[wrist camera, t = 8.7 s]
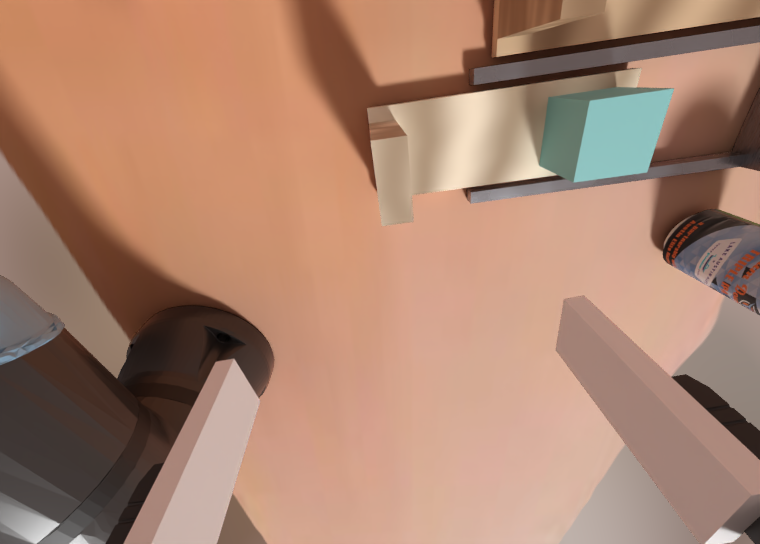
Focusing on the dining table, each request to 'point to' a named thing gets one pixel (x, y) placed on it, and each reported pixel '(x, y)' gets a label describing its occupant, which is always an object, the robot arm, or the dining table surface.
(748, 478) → the robot arm
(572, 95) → the block
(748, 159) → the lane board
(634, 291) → the dining table surface
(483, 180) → the beige long angled piece
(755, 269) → the beverage can
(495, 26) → the strip oak
